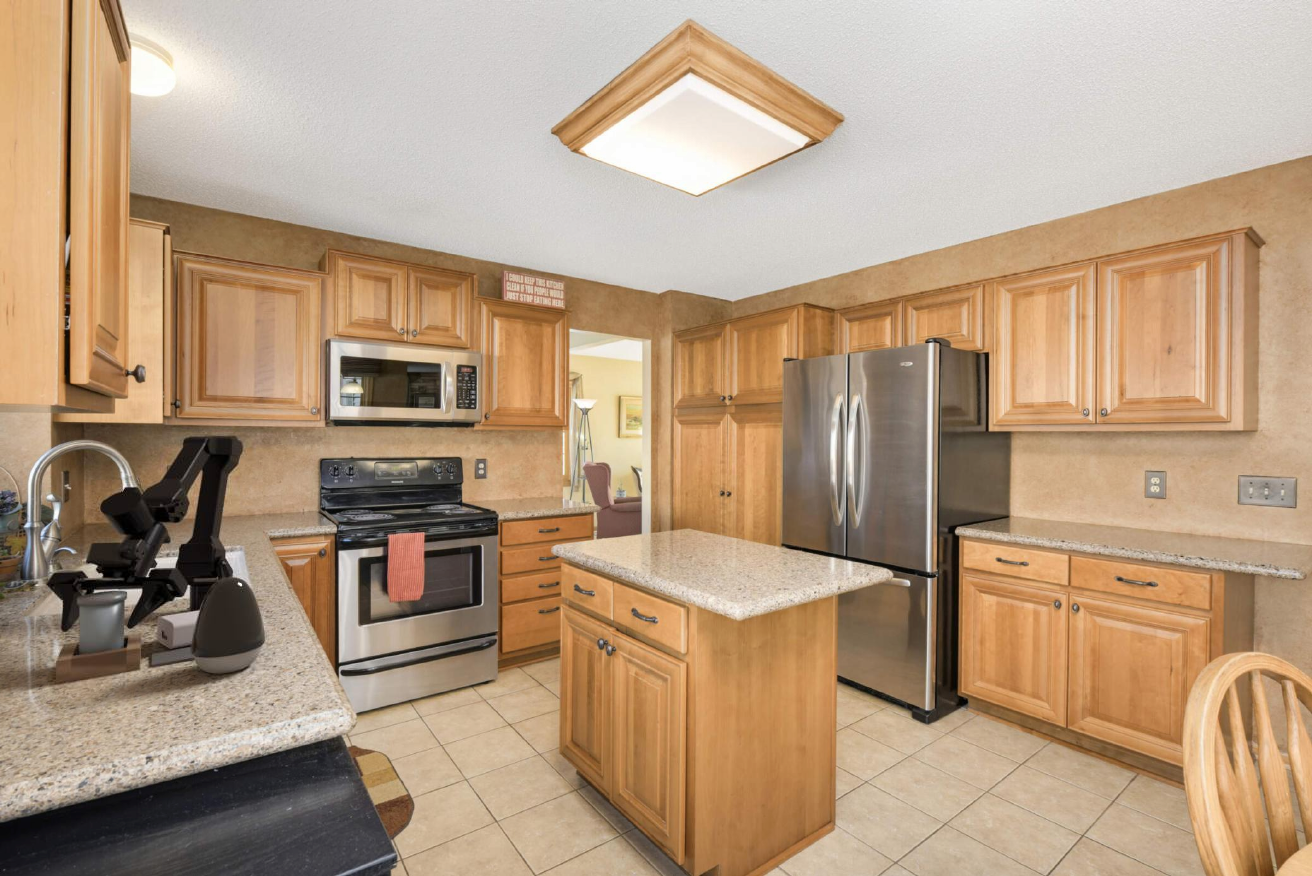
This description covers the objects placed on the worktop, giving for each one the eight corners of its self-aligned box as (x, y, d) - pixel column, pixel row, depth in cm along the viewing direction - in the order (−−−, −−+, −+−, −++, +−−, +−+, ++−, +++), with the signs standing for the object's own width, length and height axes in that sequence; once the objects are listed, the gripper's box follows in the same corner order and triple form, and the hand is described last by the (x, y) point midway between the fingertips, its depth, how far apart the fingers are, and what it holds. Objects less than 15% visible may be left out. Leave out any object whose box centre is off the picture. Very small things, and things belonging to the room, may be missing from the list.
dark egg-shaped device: (256, 652, 110) (257, 568, 110) (271, 668, 103) (272, 577, 103) (185, 667, 103) (186, 576, 103) (196, 685, 96) (197, 587, 96)
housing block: (63, 665, 103) (63, 644, 103) (141, 652, 110) (141, 633, 110) (55, 683, 96) (56, 661, 96) (139, 669, 102) (140, 648, 102)
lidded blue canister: (77, 666, 103) (79, 594, 103) (126, 658, 107) (127, 589, 107) (74, 677, 98) (75, 602, 98) (125, 668, 102) (126, 596, 102)
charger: (265, 632, 122) (172, 650, 110) (247, 624, 127) (156, 641, 115) (266, 607, 122) (173, 623, 110) (247, 601, 127) (157, 615, 115)
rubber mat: (151, 655, 108) (151, 653, 108) (201, 647, 113) (201, 645, 113) (151, 667, 103) (151, 664, 103) (203, 658, 107) (203, 655, 107)
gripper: (55, 524, 105) (0, 606, 94) (180, 522, 109) (141, 601, 98) (86, 561, 112) (39, 641, 102) (202, 558, 116) (168, 635, 106)
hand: (96, 629), depth 101 cm, fingers open, 9 cm apart
